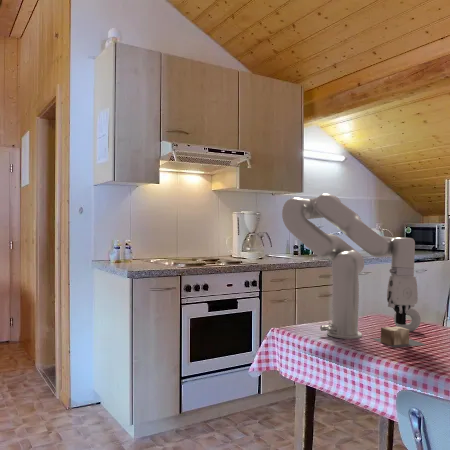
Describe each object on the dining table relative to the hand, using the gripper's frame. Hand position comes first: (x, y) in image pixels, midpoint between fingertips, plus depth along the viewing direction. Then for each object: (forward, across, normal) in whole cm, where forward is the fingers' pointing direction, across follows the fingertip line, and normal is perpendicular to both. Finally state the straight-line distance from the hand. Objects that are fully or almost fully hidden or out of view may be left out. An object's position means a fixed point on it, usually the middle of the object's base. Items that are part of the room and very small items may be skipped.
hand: (400, 323), depth 160 cm
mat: (+7, 0, +1) cm, 7 cm away
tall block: (+4, +2, 0) cm, 4 cm away
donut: (+7, +16, +15) cm, 23 cm away
